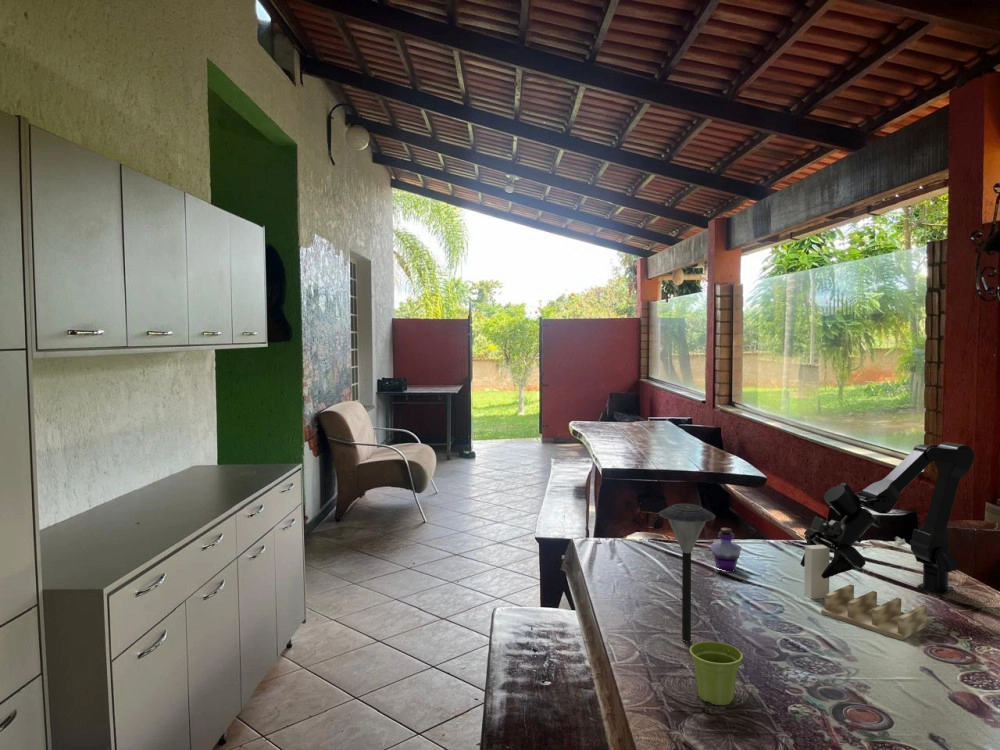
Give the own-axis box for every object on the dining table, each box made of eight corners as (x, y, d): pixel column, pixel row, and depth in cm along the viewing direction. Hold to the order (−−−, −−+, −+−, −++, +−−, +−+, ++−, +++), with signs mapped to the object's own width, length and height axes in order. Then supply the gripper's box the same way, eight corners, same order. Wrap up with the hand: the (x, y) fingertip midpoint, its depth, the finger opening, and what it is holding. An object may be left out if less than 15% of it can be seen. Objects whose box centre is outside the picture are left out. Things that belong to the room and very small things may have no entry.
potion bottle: (723, 562, 202) (724, 523, 201) (747, 570, 194) (748, 529, 194) (704, 567, 197) (704, 527, 197) (727, 576, 190) (728, 534, 189)
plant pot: (682, 686, 129) (682, 641, 129) (729, 683, 130) (729, 639, 130) (700, 712, 120) (700, 665, 120) (751, 709, 121) (751, 662, 120)
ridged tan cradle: (850, 600, 171) (850, 583, 171) (929, 624, 156) (930, 605, 156) (821, 613, 163) (821, 595, 163) (901, 640, 148) (902, 620, 148)
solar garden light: (685, 657, 141) (685, 516, 140) (646, 635, 152) (646, 504, 150) (727, 645, 147) (728, 509, 145) (687, 624, 157) (688, 498, 156)
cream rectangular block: (822, 593, 176) (822, 544, 176) (829, 597, 173) (829, 548, 173) (804, 594, 176) (804, 545, 175) (810, 598, 173) (811, 549, 172)
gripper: (810, 498, 183) (772, 540, 182) (855, 515, 165) (812, 562, 164) (837, 525, 184) (799, 567, 184) (884, 545, 166) (842, 592, 165)
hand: (811, 571), depth 174 cm, fingers open, 9 cm apart
